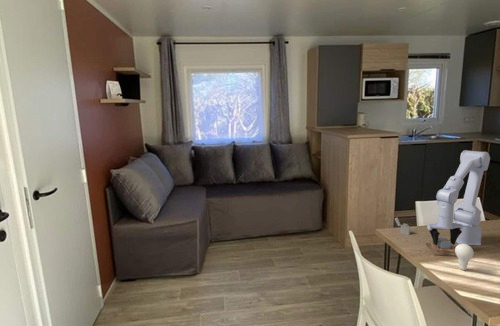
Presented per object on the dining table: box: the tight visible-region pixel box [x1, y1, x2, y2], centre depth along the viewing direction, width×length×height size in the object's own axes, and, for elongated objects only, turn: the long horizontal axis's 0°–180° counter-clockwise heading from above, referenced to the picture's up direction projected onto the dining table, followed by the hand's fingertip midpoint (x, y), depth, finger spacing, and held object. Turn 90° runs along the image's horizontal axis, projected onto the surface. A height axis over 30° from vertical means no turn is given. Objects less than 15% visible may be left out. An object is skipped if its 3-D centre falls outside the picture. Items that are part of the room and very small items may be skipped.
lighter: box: [394, 217, 411, 236], centre depth 160 cm, size 7×2×8 cm, turn 55°
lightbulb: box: [455, 244, 475, 271], centre depth 122 cm, size 6×6×11 cm
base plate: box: [425, 242, 458, 258], centre depth 140 cm, size 11×11×2 cm
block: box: [436, 237, 451, 249], centre depth 139 cm, size 4×4×4 cm
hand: (443, 244), depth 139 cm, fingers open, 7 cm apart
